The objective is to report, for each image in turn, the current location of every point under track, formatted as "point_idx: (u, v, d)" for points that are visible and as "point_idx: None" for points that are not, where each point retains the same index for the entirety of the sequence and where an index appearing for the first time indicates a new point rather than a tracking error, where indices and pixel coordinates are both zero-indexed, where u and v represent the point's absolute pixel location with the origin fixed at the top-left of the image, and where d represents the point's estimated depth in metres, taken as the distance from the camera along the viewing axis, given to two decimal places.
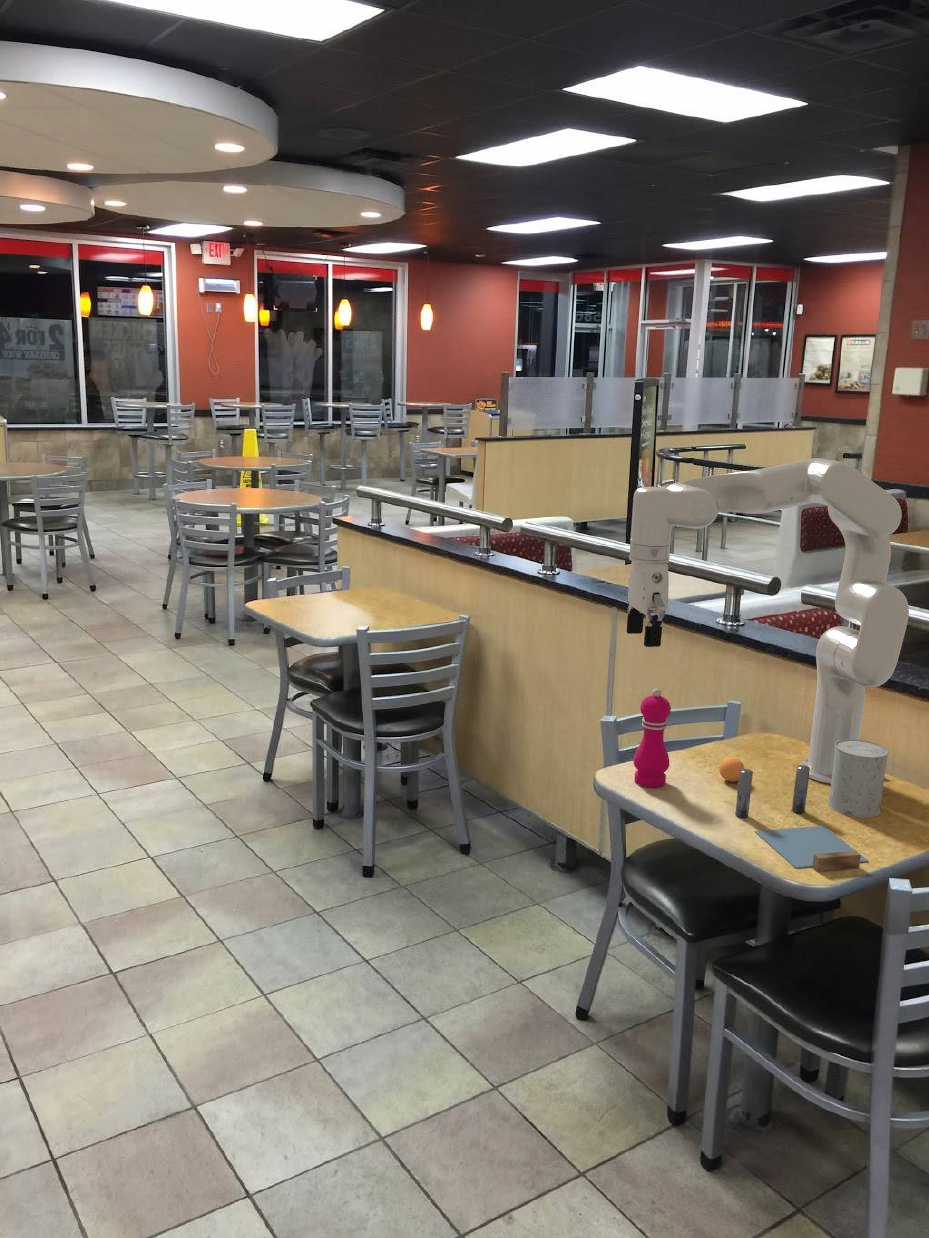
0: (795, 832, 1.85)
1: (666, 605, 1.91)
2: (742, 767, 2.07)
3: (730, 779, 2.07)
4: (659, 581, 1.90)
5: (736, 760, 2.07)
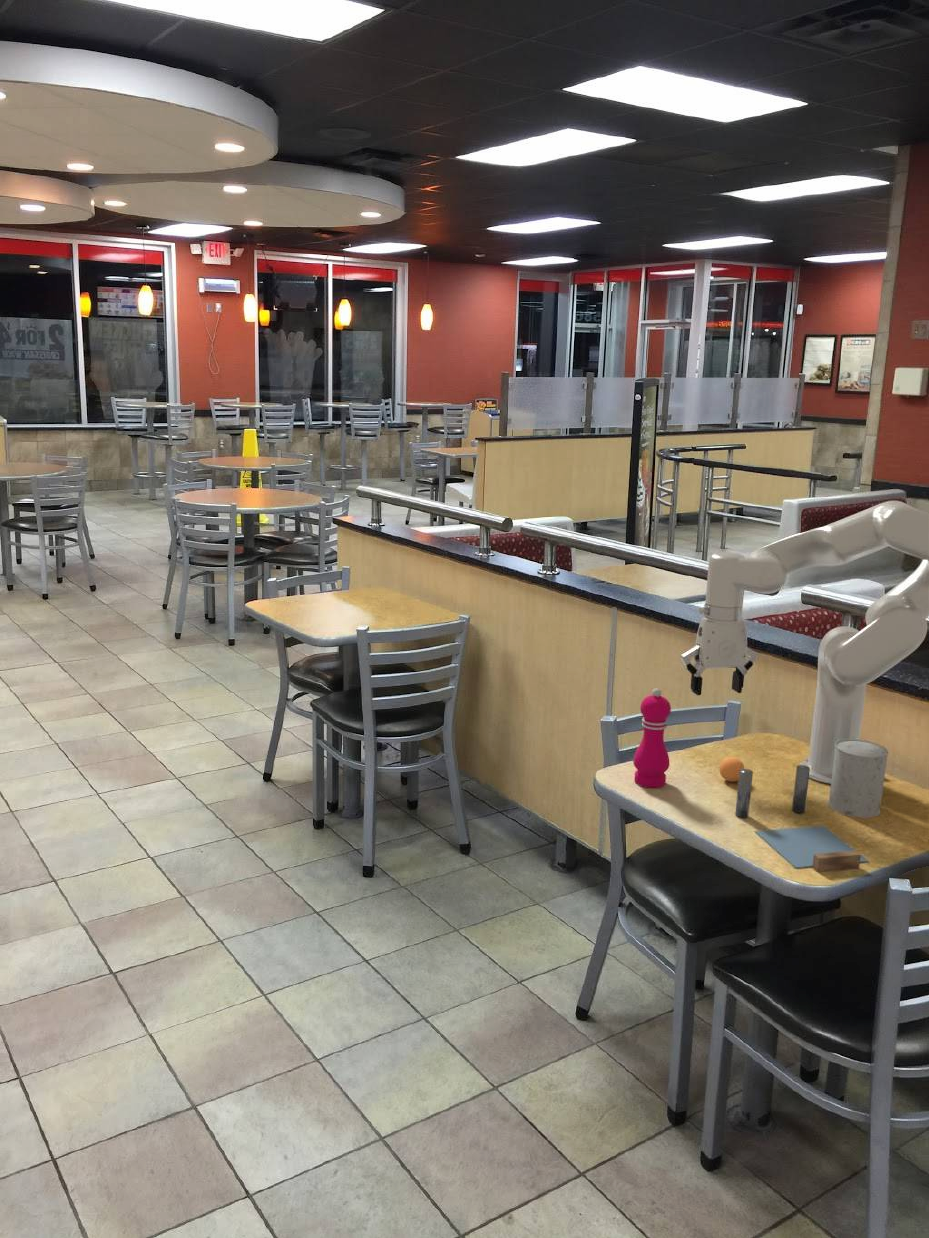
0: (795, 832, 1.85)
1: (702, 659, 2.09)
2: (742, 767, 2.07)
3: (730, 779, 2.07)
4: None
5: (736, 760, 2.07)
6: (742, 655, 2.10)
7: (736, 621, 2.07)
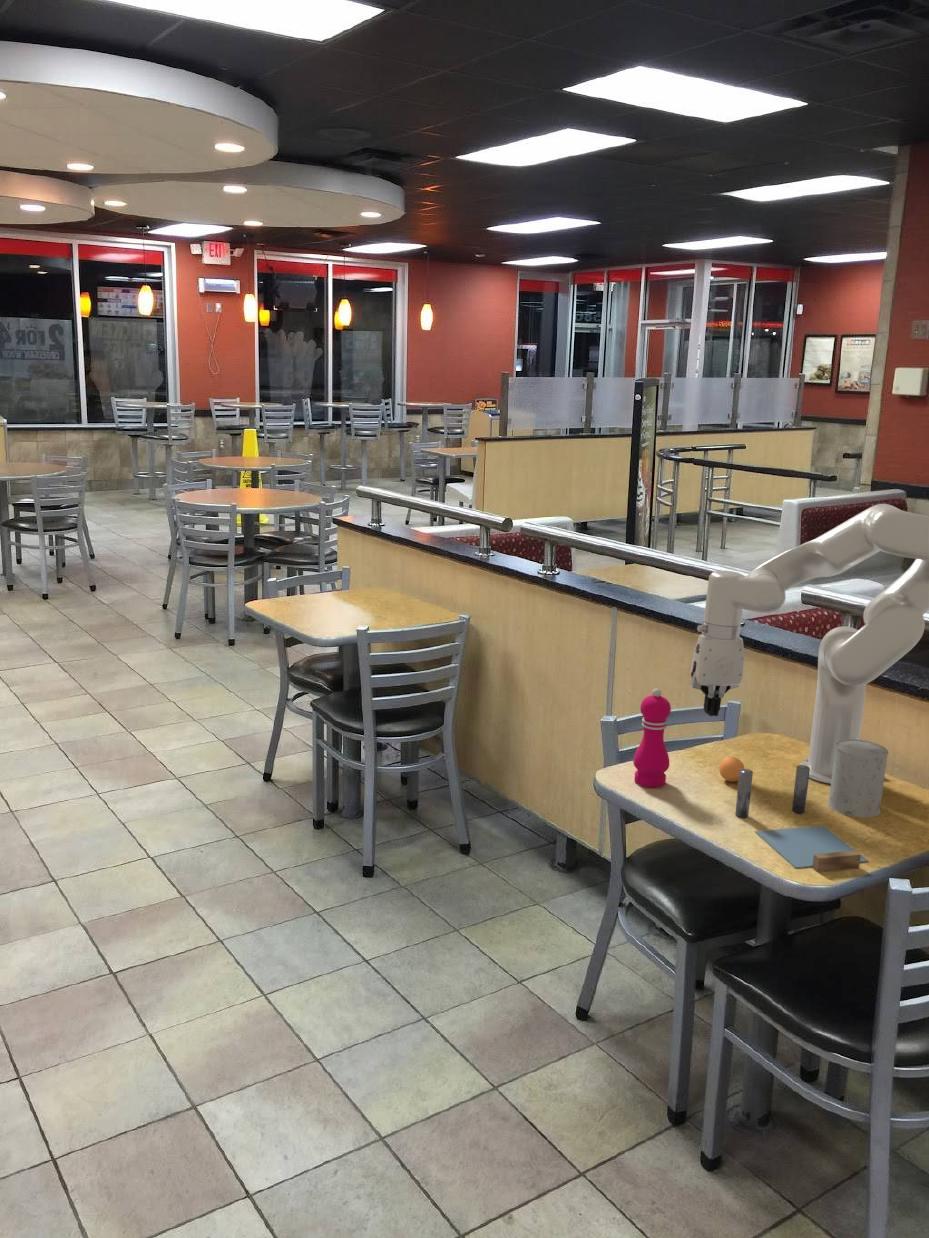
0: (795, 832, 1.85)
1: (698, 676, 2.10)
2: (742, 767, 2.07)
3: (730, 779, 2.07)
4: None
5: (736, 760, 2.07)
6: (738, 673, 2.11)
7: (733, 640, 2.08)
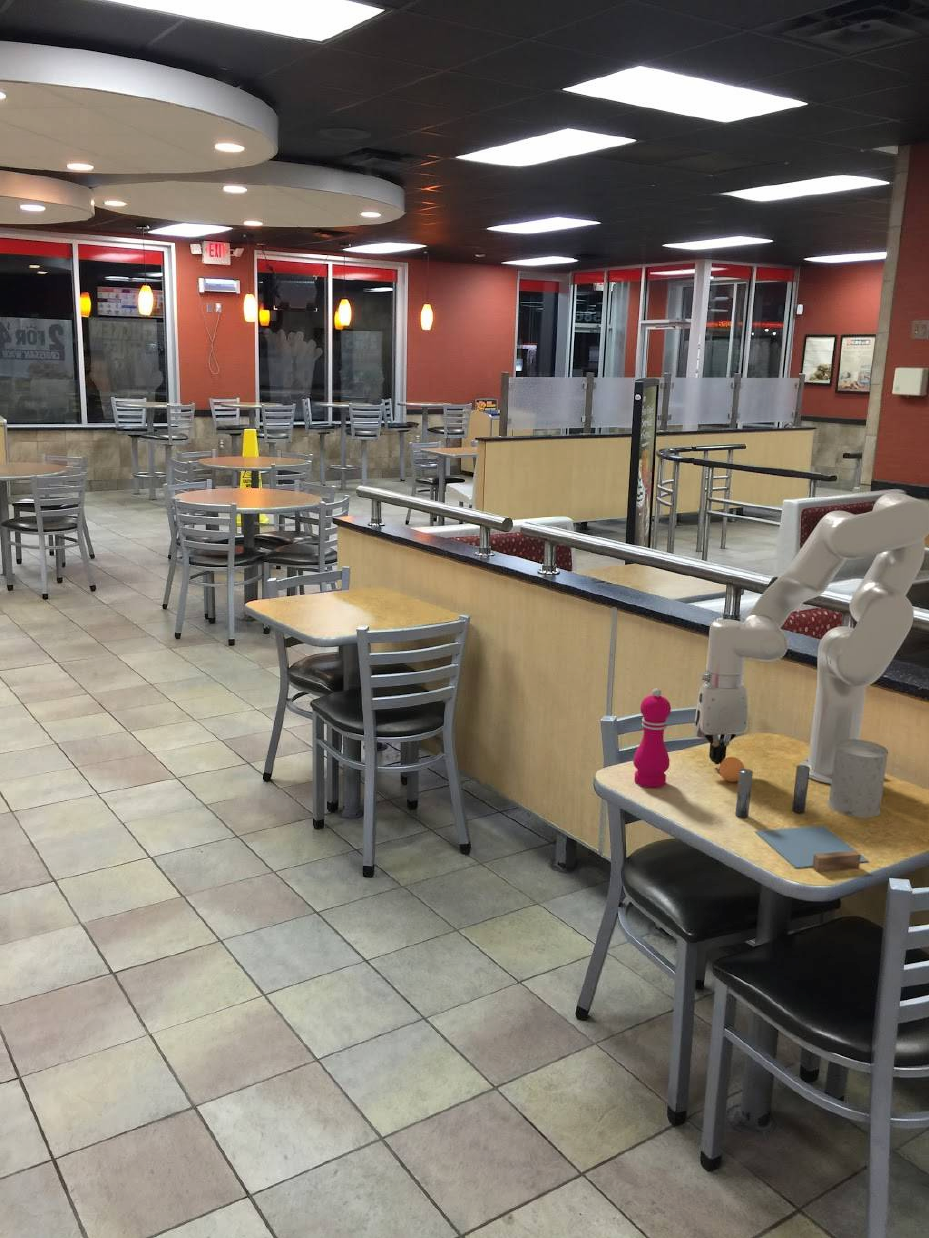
0: (795, 832, 1.85)
1: (702, 725, 2.10)
2: (742, 767, 2.07)
3: (730, 779, 2.07)
4: None
5: (736, 760, 2.07)
6: (743, 722, 2.11)
7: (736, 689, 2.08)
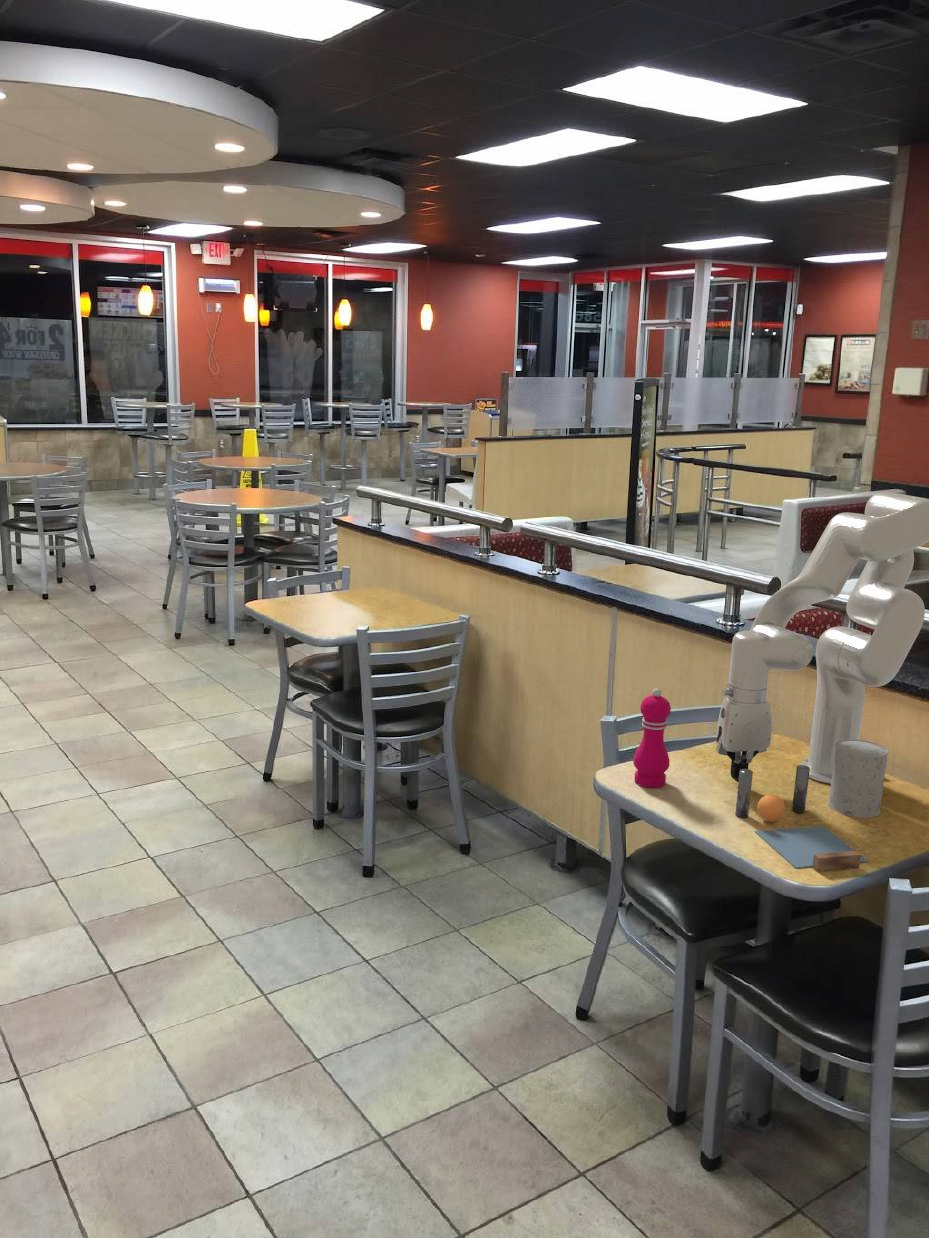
0: (795, 832, 1.85)
1: (724, 742, 2.00)
2: (782, 816, 1.89)
3: None
4: None
5: (778, 811, 1.88)
6: (766, 738, 2.02)
7: (760, 703, 1.99)
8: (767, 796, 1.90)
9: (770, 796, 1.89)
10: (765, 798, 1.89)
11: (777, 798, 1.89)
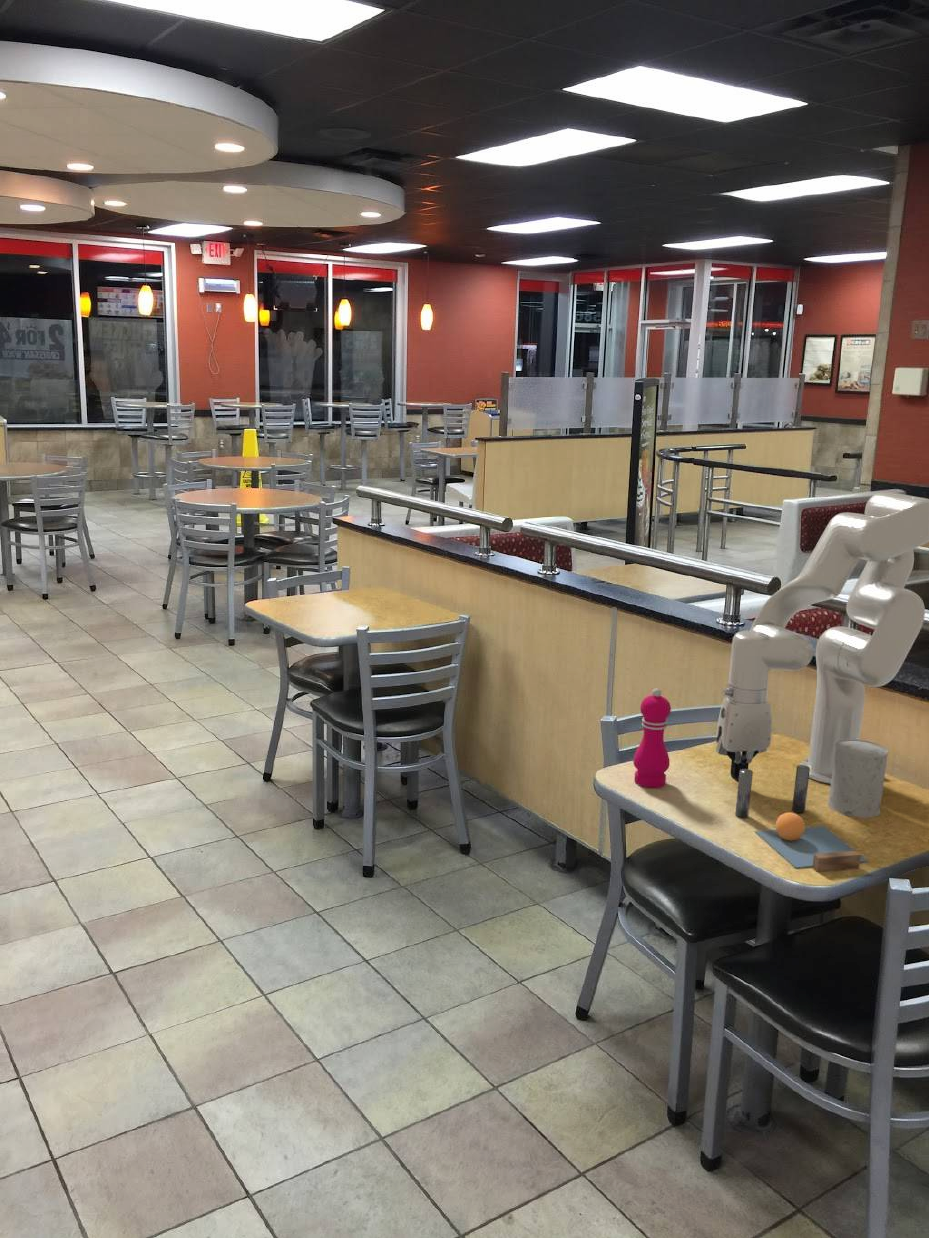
0: None
1: (724, 742, 2.00)
2: None
3: (788, 815, 1.81)
4: None
5: None
6: (766, 738, 2.02)
7: (760, 703, 1.99)
8: None
9: None
10: (781, 837, 1.83)
11: None
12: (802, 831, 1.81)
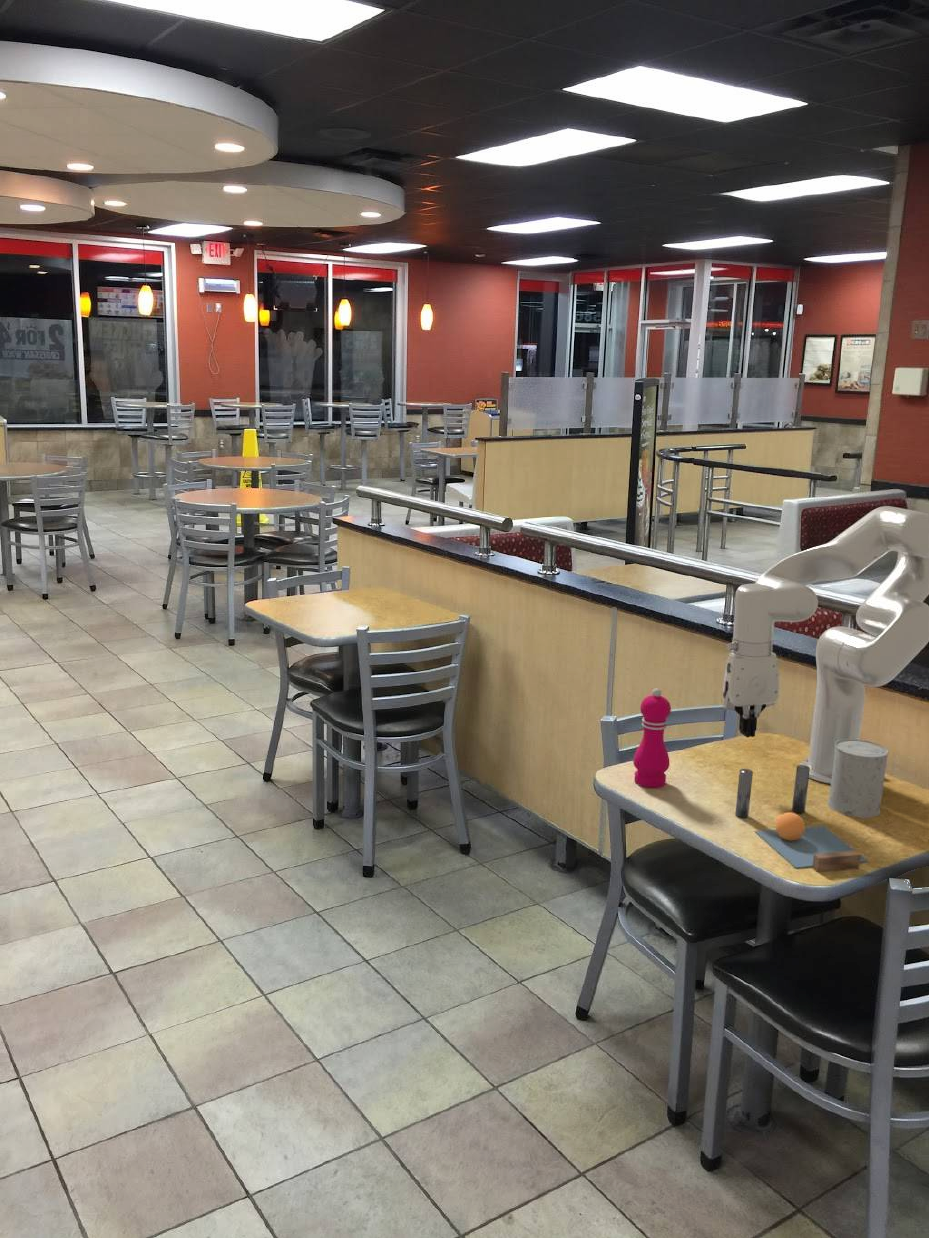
0: None
1: (731, 697, 1.98)
2: None
3: (788, 815, 1.81)
4: None
5: None
6: (774, 691, 2.00)
7: (766, 656, 1.96)
8: None
9: None
10: (781, 837, 1.83)
11: None
12: (802, 831, 1.81)
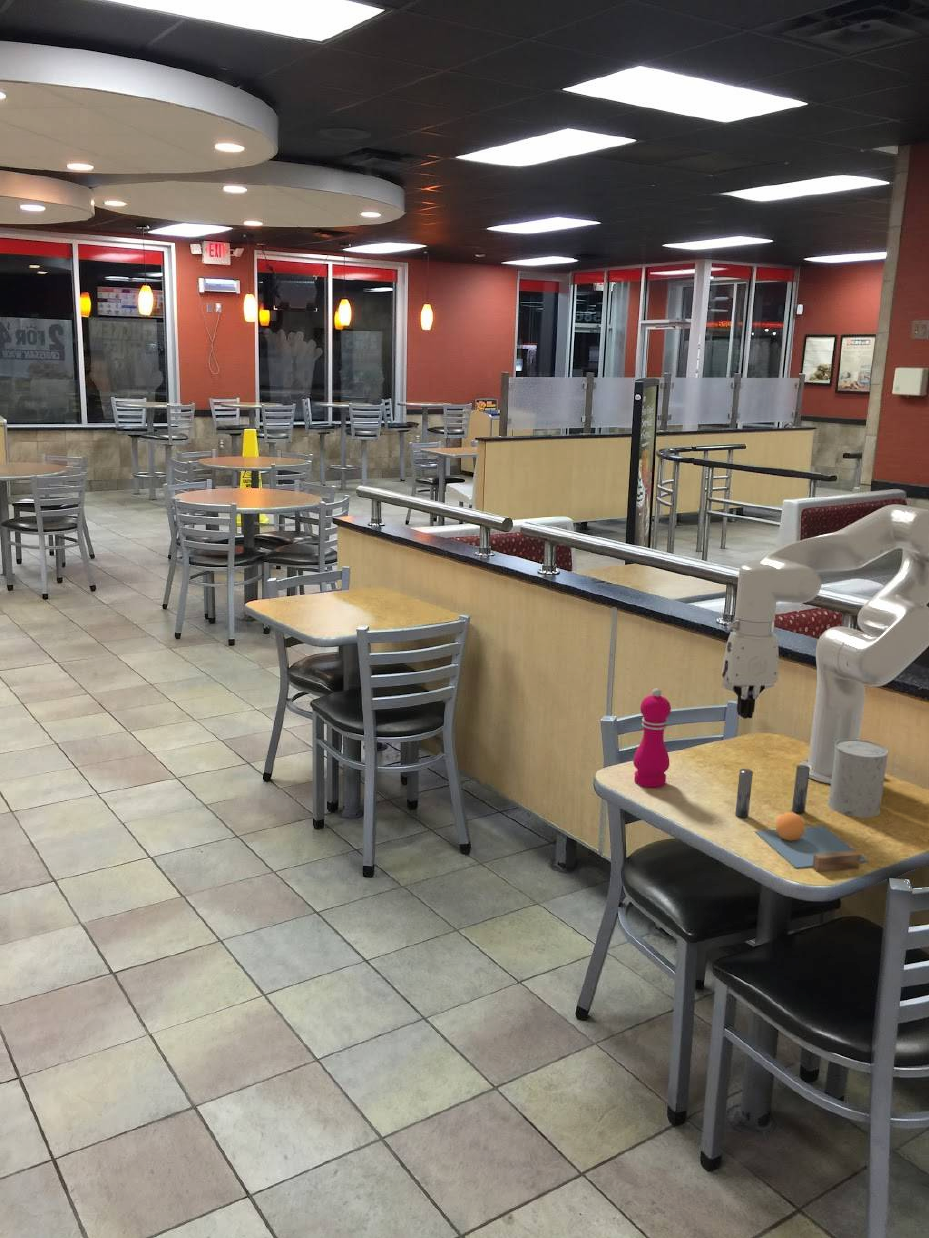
0: None
1: (731, 676, 1.97)
2: None
3: (788, 815, 1.81)
4: None
5: None
6: (773, 672, 1.98)
7: (767, 636, 1.95)
8: None
9: None
10: (781, 837, 1.83)
11: None
12: (802, 831, 1.81)
